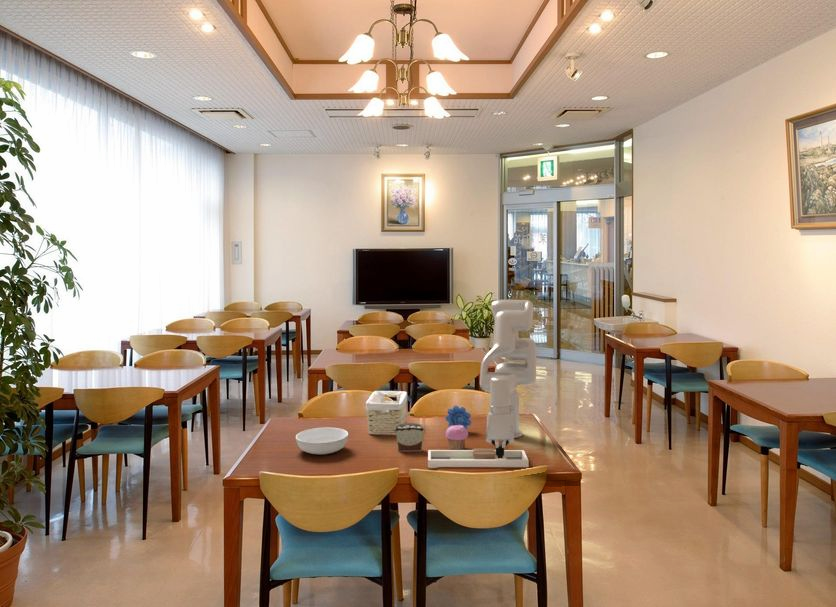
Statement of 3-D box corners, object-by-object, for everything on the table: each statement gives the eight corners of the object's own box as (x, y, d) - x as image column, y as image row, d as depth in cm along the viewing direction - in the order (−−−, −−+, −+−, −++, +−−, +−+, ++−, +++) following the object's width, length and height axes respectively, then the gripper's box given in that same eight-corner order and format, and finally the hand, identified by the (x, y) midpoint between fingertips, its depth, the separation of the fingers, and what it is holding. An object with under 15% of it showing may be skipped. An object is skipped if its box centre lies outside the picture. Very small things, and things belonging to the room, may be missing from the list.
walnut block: (473, 458, 246) (473, 448, 245) (493, 459, 245) (494, 448, 245) (473, 464, 240) (473, 453, 239) (495, 464, 239) (495, 453, 239)
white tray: (428, 457, 249) (428, 450, 249) (523, 457, 248) (523, 450, 248) (428, 468, 237) (427, 460, 237) (528, 468, 236) (528, 460, 236)
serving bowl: (291, 446, 264) (291, 430, 263) (341, 441, 271) (341, 425, 271) (301, 462, 244) (300, 444, 244) (354, 455, 252) (354, 438, 251)
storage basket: (401, 436, 278) (401, 403, 276) (364, 435, 279) (364, 402, 278) (408, 421, 301) (408, 390, 300) (374, 420, 303) (373, 390, 302)
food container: (424, 446, 263) (424, 422, 263) (425, 451, 257) (425, 426, 256) (394, 446, 263) (394, 422, 262) (394, 451, 257) (394, 427, 256)
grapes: (448, 435, 278) (448, 408, 277) (444, 431, 285) (444, 404, 284) (474, 433, 280) (474, 406, 279) (469, 429, 287) (469, 403, 286)
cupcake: (471, 448, 260) (471, 424, 259) (461, 454, 253) (461, 429, 252) (452, 445, 265) (451, 421, 264) (441, 450, 257) (441, 426, 256)
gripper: (518, 407, 244) (518, 454, 246) (479, 407, 244) (479, 454, 246) (521, 412, 237) (521, 460, 238) (481, 412, 237) (480, 460, 238)
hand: (499, 457), depth 242 cm, fingers closed
